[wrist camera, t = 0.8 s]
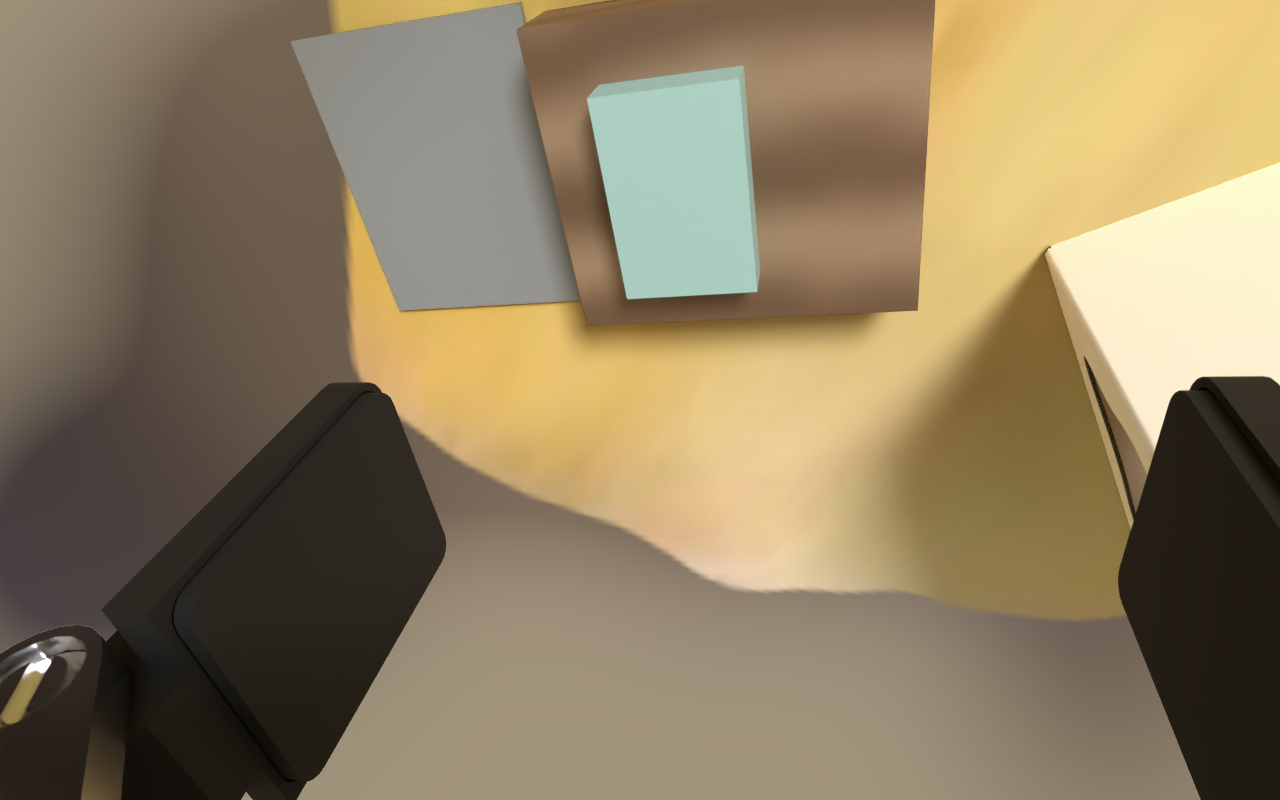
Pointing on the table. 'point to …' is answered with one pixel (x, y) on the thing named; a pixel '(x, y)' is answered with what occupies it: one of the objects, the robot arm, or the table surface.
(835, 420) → the table surface
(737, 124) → the block
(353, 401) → the robot arm
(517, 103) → the mat
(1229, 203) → the gable box
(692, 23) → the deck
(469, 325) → the table surface
